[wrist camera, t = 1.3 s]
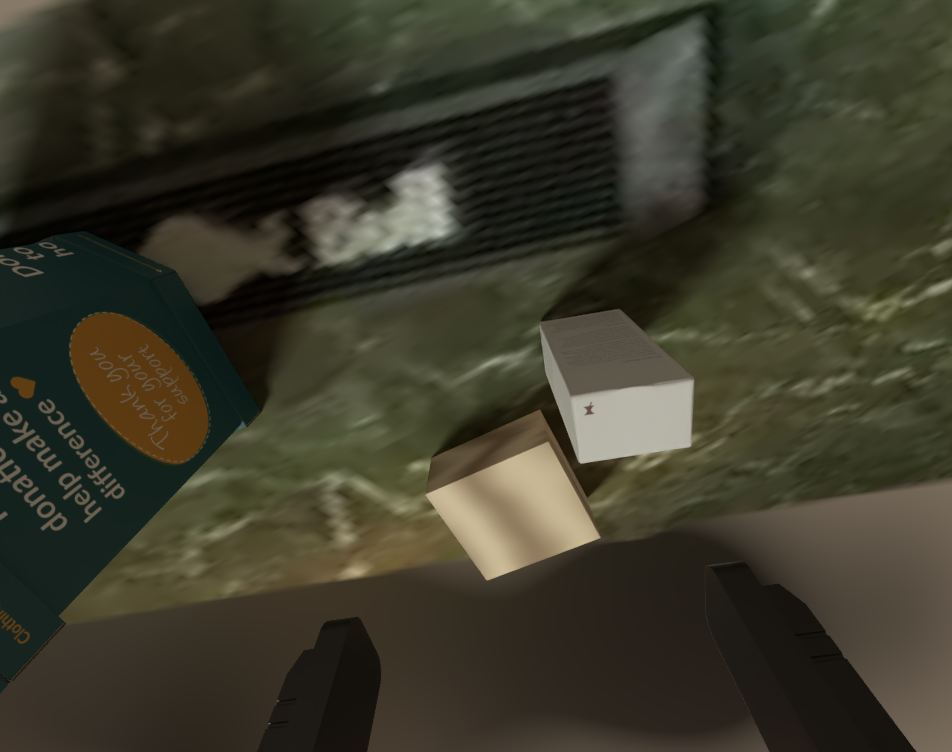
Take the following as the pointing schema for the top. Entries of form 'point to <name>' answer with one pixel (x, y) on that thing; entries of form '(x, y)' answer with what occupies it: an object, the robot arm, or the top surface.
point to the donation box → (94, 419)
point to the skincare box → (616, 387)
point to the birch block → (511, 497)
